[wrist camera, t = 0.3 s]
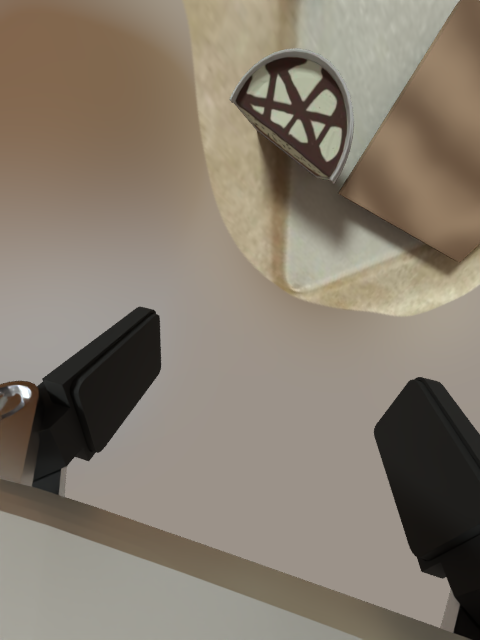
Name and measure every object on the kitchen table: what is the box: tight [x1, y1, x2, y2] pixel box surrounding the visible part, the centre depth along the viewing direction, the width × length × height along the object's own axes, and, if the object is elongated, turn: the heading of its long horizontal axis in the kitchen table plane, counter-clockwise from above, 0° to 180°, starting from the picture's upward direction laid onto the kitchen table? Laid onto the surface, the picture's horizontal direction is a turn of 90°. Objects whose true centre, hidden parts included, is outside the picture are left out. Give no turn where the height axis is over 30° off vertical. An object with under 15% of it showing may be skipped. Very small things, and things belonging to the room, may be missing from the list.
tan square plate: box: [338, 0, 480, 262], centre depth 25 cm, size 16×17×3 cm
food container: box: [230, 48, 354, 184], centre depth 23 cm, size 12×6×10 cm, turn 58°
